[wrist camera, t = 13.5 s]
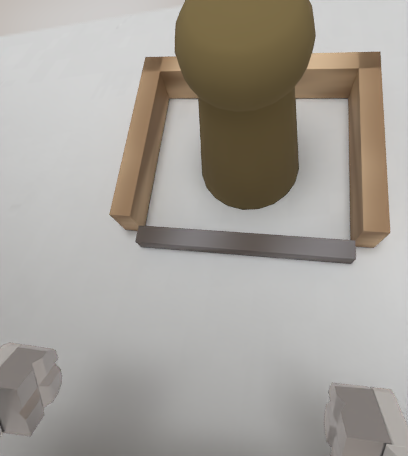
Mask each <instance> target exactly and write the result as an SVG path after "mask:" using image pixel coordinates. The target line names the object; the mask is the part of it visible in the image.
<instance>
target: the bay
mask: <svg viewBox="0 0 408 456" xmlns="http://www.w3.org/2000/svg"><path fill="white" fill-rule="evenodd" d="M169 98H198V96H197V95H196V94H195V93H194V92H193V91H192V89H191V88H190V87H189V85H188V84H187V83H186V81H185V80H184V77H183V75H182V72H181V69H180V67H179V64H178V61H177V57H145V62H144V66H143V70H142V75H141V79H140V84H139V88H138V92H137V97H136V101H135V105H134V110H133V114H132V118H131V123H130V127H129V131H128V136H127V140H126V145H125V149H124V153H123V158H122V162H121V166H120V171H119V175H118V179H117V184H116V188H115V192H114V197H113V201H112V206H111V210H110V214H109V215H110V216H111V217H112V218H114V219H115V220H116V221H117V222H118V223H119V224H120V225H121V226H122V227H123V228H124V229H125V230H136V231H138V232H137V237H136V243H138V244H139V245H140V246H141V247H152V248H164V249H176V250H189V251H201V252H213V253H226V254H238V255H250V256H263V257H275V258H287V259H300V260H312V261H324V262H337V263H349V264H351V263H352V262H353V261H354V260H355V259H356V246H357V247H371V248H374V247H375V246H376V245H377V244H379V243H380V242H381V241H382V240H383V239H384V238H385V237H386V236H387V235H388V234H389V233H390V219H389V201H388V183H387V165H386V147H385V128H384V110H383V92H382V74H381V56H380V52H348V53H312V54H311V57H310V61H309V64H308V67H307V69H306V71H305V73H304V74H303V76H302V78H301V79H300V81H299V82H298V83H297V84H296V86H295V98H348V108H349V173H350V238H351V240H341V239H327V238H312V237H298V236H283V235H269V234H255V233H240V232H226V231H211V230H197V229H183V228H168V227H154V226H145V223H146V218H147V213H148V208H149V202H150V197H151V192H152V187H153V181H154V176H155V171H156V166H157V160H158V155H159V150H160V145H161V140H162V134H163V129H164V124H165V119H166V113H167V108H168V103H169Z"/></svg>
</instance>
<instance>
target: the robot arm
mask: <svg viewBox="0 0 408 456" xmlns="http://www.w3.org/2000/svg"><path fill="white" fill-rule="evenodd" d="M57 360H58V355H57V352H56V350H54V349H51V348H44V347H37V346H31V345H24V344H23V345H22V344H16V343H7V344H4V345H3V346H2V347H1V348H0V436H2V435H3V433H9V434H17V435H25V436H31V435H32V434H33V432H34V430H35V429H36V427H37V426H38V424H39V423H40V421H41V420H42V418H43V417H44V407H46V406H47V405H49V404H51V403H52V402H53V401H54V399H55V398H56V396H57V395H58V393H59V390H60V387H61V384H62V373H61V369H60V368H59V367H58V366H57V365H56V364H55V362H56V361H57ZM328 393H329V398H330V402H328V403H327V404H326V407H325V413H324V427H325V436H326V442H327V443H328V444H329V445H330V447H331V448H332V450H331V454H330V456H408V426H407V423H406V421H405V419H404V416H403V414H402V411H401V409H400V407H399V404H398V402H397V400H396V397H395V395H394V393H393V392H392V391H391V390H390V389H384V388H375V387H367V386H358V385H349V384H340V383H331V385H330V388H329V392H328Z"/></svg>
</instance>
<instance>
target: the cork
mask: <svg viewBox="0 0 408 456" xmlns="http://www.w3.org/2000/svg"><path fill="white" fill-rule="evenodd" d="M315 36H316V35H315V26H314V18H313V10H312V5H311V3H310V1H309V0H185V2H184V4H183V7H182V9H181V11H180V13H179V16H178V19H177V21H176V28H175V54H176V57H177V61H178V64H179V67H180V69H181V72H182V75H183V77H184V80H185V81H186V83H187V84H188V85H189V87H190V88H191V89H192V91H193V92H194V93H195V94H196V95H197V96H198V101H199V121H200V140H201V159H202V175H203V178H204V181H205V184H206V187H207V188H208V190H209V191H210V192H211V193H212V194H213V196H214V197H215V198H216V199H218V200H219V201H221V202H223V203H224V204H226V205H228V206H231V207H235V208H239V209H243V210H244V209H260V208H263V207H266V206H268V205H271V204H274V203H275V202H277V201H278V200H280V199H281V198H282V197H284V196H285V195H286V194H287V193H288V192H289V190H290V189H291V187H292V186H293V185H294V183H295V181H296V177H297V174H298V170H299V163H298V142H297V121H296V100H295V86H296V84H297V83H298V82H299V81H300V79H301V78H302V76H303V74H304V73H305V71H306V69H307V67H308V64H309V61H310V57H311V54H312V51H313V46H314V41H315Z"/></svg>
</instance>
